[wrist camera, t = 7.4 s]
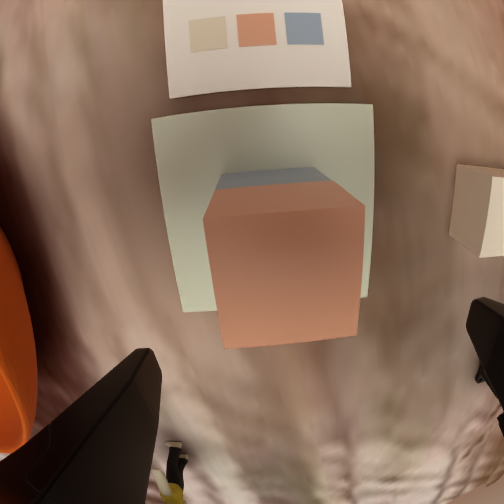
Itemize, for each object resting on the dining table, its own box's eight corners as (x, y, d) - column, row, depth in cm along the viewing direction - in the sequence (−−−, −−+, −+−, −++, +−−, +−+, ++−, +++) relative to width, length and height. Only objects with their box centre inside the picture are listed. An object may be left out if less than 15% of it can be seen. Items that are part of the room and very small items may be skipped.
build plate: (367, 104, 16) (372, 104, 16) (363, 290, 21) (367, 296, 20) (155, 118, 16) (150, 119, 16) (185, 305, 21) (183, 312, 20)
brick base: (314, 167, 17) (333, 181, 13) (316, 252, 19) (331, 285, 15) (221, 173, 17) (214, 190, 13) (231, 258, 19) (227, 294, 15)
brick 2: (503, 168, 18) (539, 182, 14) (494, 232, 20) (526, 253, 16) (455, 163, 18) (492, 176, 14) (447, 234, 20) (479, 257, 16)
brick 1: (333, 180, 13) (365, 205, 10) (333, 284, 15) (356, 335, 12) (214, 190, 13) (202, 218, 10) (228, 293, 15) (223, 348, 12)
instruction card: (337, -19, 13) (339, -21, 13) (350, 87, 16) (352, 86, 16) (163, -9, 13) (161, -11, 13) (170, 98, 16) (169, 98, 16)
